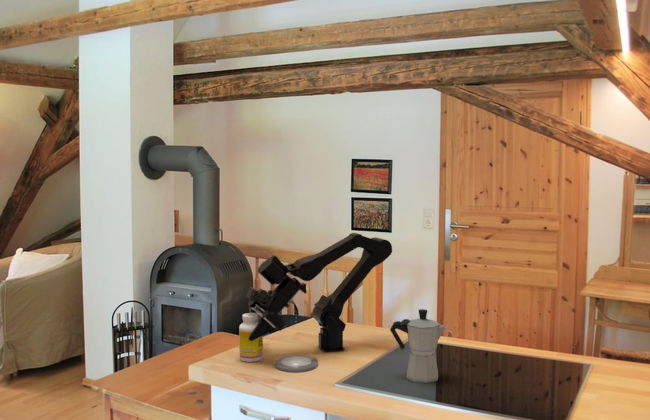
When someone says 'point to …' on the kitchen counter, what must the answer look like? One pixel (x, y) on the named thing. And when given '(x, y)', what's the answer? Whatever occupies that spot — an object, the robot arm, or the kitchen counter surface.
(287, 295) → the robot arm
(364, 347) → the kitchen counter surface
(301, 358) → the gray plate
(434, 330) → the coffee maker
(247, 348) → the supplement bottle
